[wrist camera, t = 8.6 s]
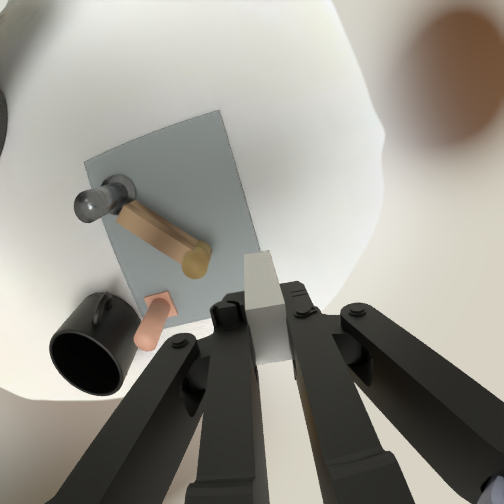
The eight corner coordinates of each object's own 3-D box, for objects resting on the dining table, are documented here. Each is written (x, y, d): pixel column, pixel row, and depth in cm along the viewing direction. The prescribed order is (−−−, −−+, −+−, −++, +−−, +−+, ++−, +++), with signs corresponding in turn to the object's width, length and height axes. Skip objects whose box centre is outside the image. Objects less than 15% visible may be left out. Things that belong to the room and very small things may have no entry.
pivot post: (97, 182, 29) (60, 192, 22) (130, 168, 29) (99, 174, 22) (109, 218, 31) (76, 238, 23) (143, 206, 31) (115, 222, 23)
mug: (155, 291, 34) (133, 333, 25) (136, 361, 37) (118, 407, 29) (87, 263, 32) (50, 295, 24) (77, 336, 36) (49, 375, 27)
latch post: (145, 295, 34) (124, 331, 26) (168, 288, 34) (152, 325, 26) (155, 317, 35) (138, 356, 27) (178, 311, 35) (165, 351, 27)
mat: (85, 162, 29) (83, 162, 28) (219, 110, 28) (219, 109, 28) (150, 329, 36) (150, 331, 35) (273, 299, 35) (274, 301, 35)
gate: (126, 216, 29) (110, 226, 25) (136, 197, 29) (121, 204, 25) (203, 266, 32) (198, 283, 27) (215, 248, 31) (212, 263, 27)
